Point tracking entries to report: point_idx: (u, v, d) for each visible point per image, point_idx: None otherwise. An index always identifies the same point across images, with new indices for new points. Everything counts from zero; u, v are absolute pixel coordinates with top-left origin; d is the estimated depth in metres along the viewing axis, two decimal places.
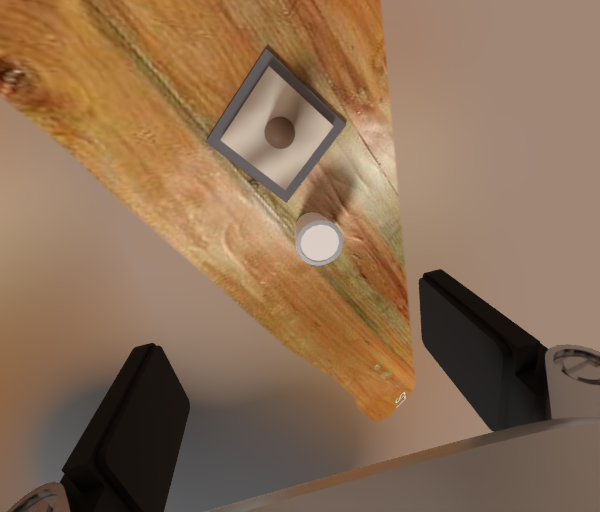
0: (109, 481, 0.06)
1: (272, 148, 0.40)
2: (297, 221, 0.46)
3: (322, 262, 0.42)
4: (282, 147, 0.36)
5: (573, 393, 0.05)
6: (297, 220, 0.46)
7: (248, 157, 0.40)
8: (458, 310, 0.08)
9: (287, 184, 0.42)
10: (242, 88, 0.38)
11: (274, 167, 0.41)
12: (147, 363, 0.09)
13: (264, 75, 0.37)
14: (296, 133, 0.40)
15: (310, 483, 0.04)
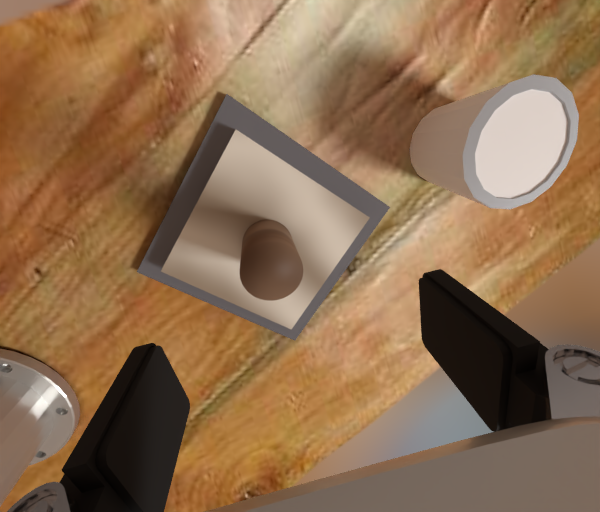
0: (109, 481, 0.06)
1: (295, 249, 0.22)
2: (427, 180, 0.22)
3: (572, 132, 0.16)
4: (299, 264, 0.17)
5: (573, 393, 0.05)
6: (424, 178, 0.23)
7: (314, 287, 0.23)
8: (458, 310, 0.08)
9: (358, 214, 0.21)
10: (207, 299, 0.23)
11: (328, 242, 0.22)
12: (147, 363, 0.09)
13: (177, 276, 0.21)
14: (263, 209, 0.20)
15: (310, 483, 0.04)
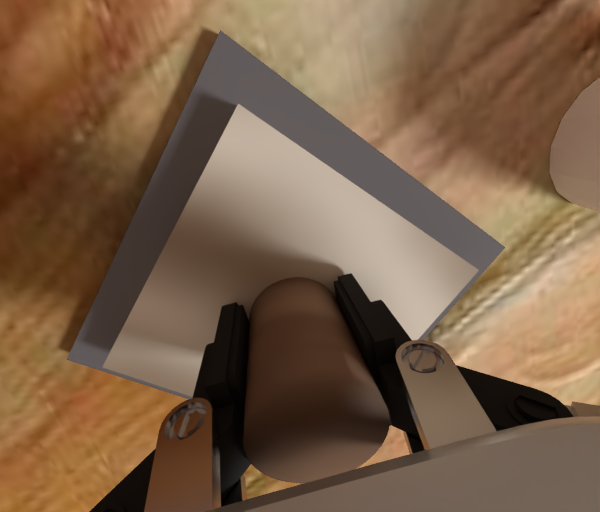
0: (235, 401, 0.08)
1: None
2: (577, 202, 0.13)
3: None
4: (383, 417, 0.07)
5: (424, 386, 0.06)
6: (565, 198, 0.13)
7: None
8: (349, 310, 0.09)
9: (460, 265, 0.12)
10: None
11: (402, 312, 0.12)
12: (239, 316, 0.10)
13: (134, 374, 0.12)
14: (289, 259, 0.11)
15: (310, 483, 0.04)
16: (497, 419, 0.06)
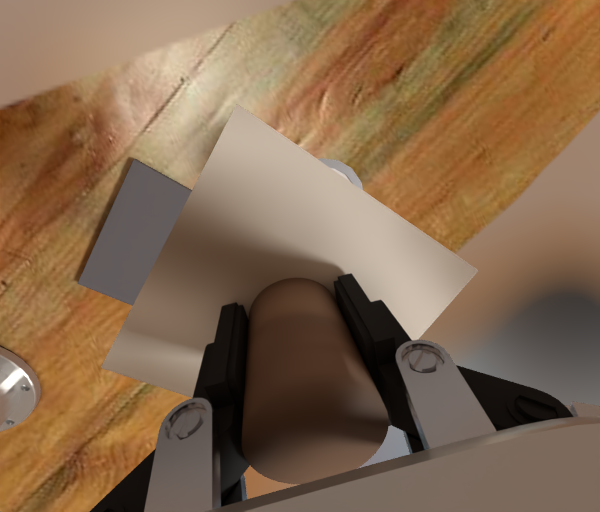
0: (235, 401, 0.08)
1: None
2: None
3: None
4: (382, 418, 0.07)
5: (424, 386, 0.06)
6: None
7: None
8: (349, 310, 0.09)
9: (460, 265, 0.12)
10: None
11: (401, 312, 0.12)
12: (239, 316, 0.10)
13: (133, 374, 0.12)
14: (288, 259, 0.11)
15: (310, 483, 0.04)
16: (497, 419, 0.06)
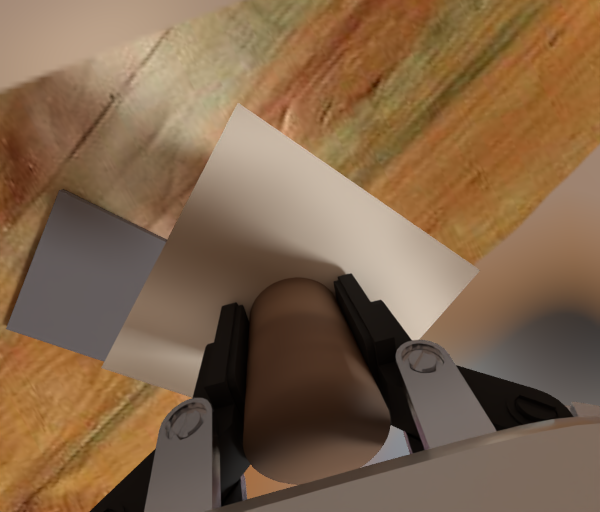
0: (235, 401, 0.08)
1: None
2: None
3: None
4: (384, 418, 0.07)
5: (424, 386, 0.06)
6: None
7: None
8: (349, 310, 0.09)
9: (461, 265, 0.12)
10: (75, 349, 0.27)
11: (402, 312, 0.12)
12: (239, 316, 0.10)
13: (133, 374, 0.12)
14: (289, 259, 0.11)
15: (310, 483, 0.04)
16: (497, 419, 0.06)
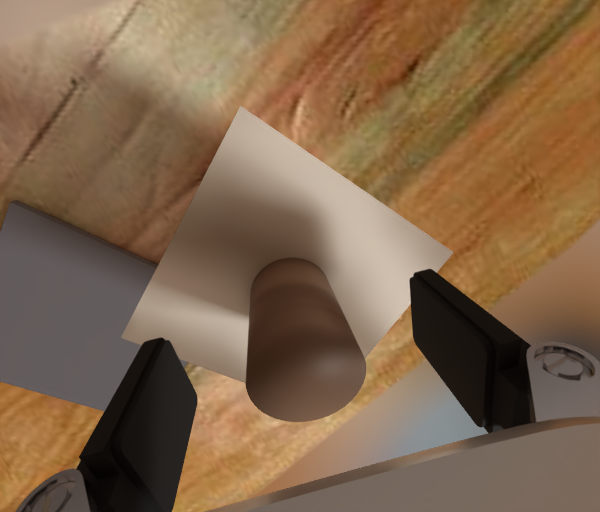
0: (124, 469, 0.07)
1: None
2: None
3: None
4: (360, 363, 0.09)
5: (554, 389, 0.06)
6: None
7: None
8: (445, 308, 0.08)
9: (436, 248, 0.13)
10: (41, 390, 0.22)
11: (385, 290, 0.14)
12: (157, 356, 0.09)
13: None
14: (285, 241, 0.12)
15: (310, 483, 0.04)
16: None
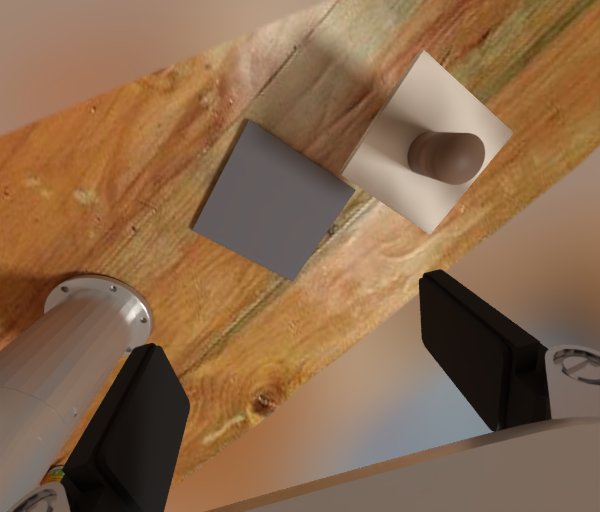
0: (109, 481, 0.06)
1: None
2: None
3: None
4: (483, 153, 0.21)
5: (573, 393, 0.05)
6: None
7: (456, 196, 0.27)
8: (458, 310, 0.08)
9: (505, 129, 0.25)
10: (235, 250, 0.36)
11: None
12: (147, 363, 0.09)
13: (353, 180, 0.26)
14: (430, 121, 0.25)
15: (310, 483, 0.04)
16: None
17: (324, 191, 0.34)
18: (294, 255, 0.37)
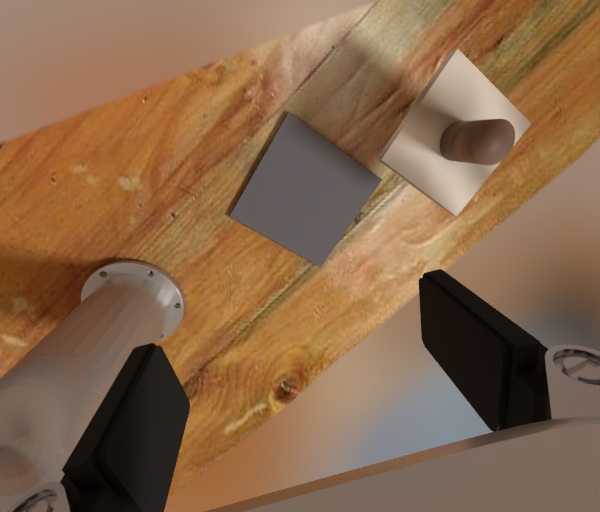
0: (109, 481, 0.06)
1: None
2: None
3: None
4: (513, 137, 0.24)
5: (573, 393, 0.05)
6: None
7: (480, 181, 0.31)
8: (458, 310, 0.08)
9: (524, 121, 0.29)
10: (268, 236, 0.38)
11: None
12: (147, 363, 0.09)
13: (391, 164, 0.29)
14: (460, 112, 0.28)
15: (310, 483, 0.04)
16: None
17: (353, 180, 0.36)
18: (323, 241, 0.39)
